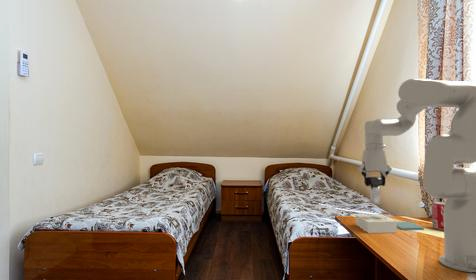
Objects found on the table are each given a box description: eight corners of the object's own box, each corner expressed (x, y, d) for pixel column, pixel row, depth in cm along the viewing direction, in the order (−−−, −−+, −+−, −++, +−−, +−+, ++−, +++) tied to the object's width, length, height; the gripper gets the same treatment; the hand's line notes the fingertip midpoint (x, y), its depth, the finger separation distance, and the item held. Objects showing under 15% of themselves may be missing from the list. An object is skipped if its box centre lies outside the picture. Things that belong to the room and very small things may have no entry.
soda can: (453, 229, 136) (453, 203, 136) (446, 232, 132) (446, 205, 132) (436, 225, 142) (435, 200, 142) (429, 228, 138) (429, 202, 138)
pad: (423, 229, 136) (423, 227, 136) (402, 230, 135) (402, 227, 135) (410, 223, 146) (410, 221, 146) (390, 224, 145) (390, 222, 145)
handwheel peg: (378, 201, 141) (378, 176, 141) (385, 204, 135) (385, 177, 135) (365, 201, 141) (364, 176, 141) (371, 204, 135) (371, 178, 135)
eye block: (396, 232, 132) (396, 221, 132) (367, 233, 131) (367, 221, 132) (381, 224, 145) (381, 214, 145) (355, 225, 144) (355, 214, 145)
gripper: (388, 147, 143) (389, 184, 142) (352, 147, 142) (353, 185, 142) (396, 146, 135) (397, 186, 135) (359, 147, 135) (360, 187, 134)
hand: (375, 185), depth 138 cm, fingers closed on handwheel peg, 6 cm apart
